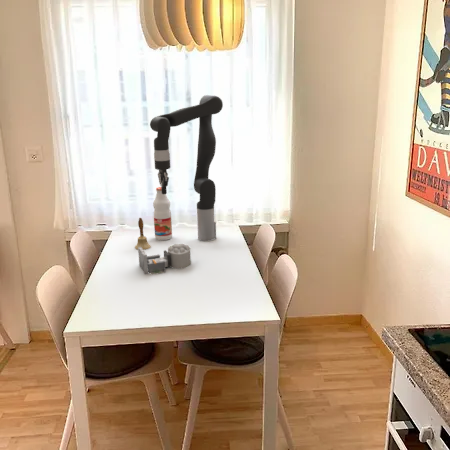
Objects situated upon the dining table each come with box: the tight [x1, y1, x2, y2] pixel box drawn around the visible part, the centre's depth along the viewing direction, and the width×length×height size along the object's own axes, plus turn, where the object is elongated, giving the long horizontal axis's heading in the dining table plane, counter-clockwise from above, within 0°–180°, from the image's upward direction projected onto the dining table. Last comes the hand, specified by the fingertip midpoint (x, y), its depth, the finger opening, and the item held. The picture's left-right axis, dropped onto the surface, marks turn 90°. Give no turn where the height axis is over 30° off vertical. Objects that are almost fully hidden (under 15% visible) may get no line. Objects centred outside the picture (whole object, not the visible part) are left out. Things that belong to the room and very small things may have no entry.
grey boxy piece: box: [147, 250, 171, 268], centre depth 227 cm, size 9×11×6 cm
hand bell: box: [134, 217, 152, 251], centre depth 255 cm, size 8×8×16 cm
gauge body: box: [137, 247, 166, 275], centre depth 227 cm, size 10×14×9 cm
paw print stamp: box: [167, 243, 192, 270], centre depth 233 cm, size 10×13×9 cm
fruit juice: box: [152, 186, 173, 241], centre depth 268 cm, size 9×9×28 cm
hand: (164, 193), depth 246 cm, fingers closed
